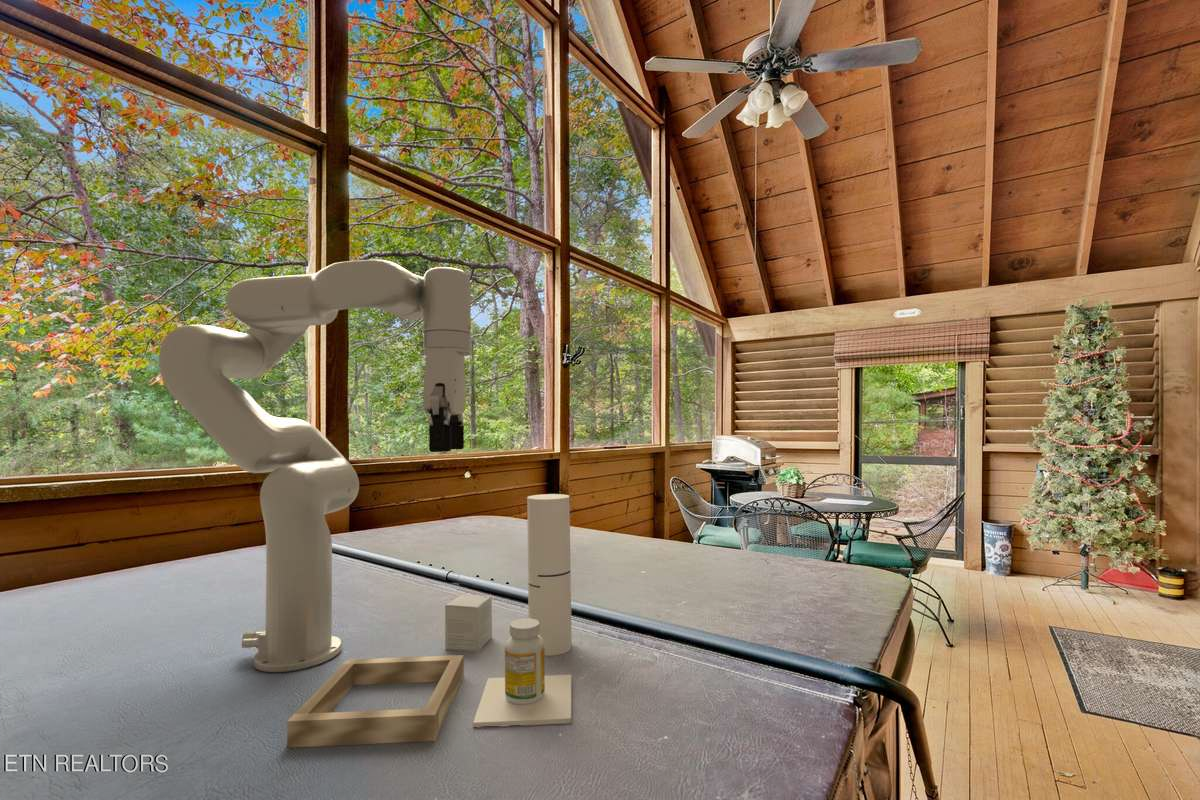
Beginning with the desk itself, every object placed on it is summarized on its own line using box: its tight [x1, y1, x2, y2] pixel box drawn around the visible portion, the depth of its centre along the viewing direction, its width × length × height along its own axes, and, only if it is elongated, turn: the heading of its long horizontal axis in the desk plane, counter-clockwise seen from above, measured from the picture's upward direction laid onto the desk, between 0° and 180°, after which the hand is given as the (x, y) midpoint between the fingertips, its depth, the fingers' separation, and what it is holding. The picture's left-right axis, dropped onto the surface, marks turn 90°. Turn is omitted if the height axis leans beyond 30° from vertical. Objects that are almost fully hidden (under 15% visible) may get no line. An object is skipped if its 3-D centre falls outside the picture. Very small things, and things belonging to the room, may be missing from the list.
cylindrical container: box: [526, 493, 573, 657], centre depth 92 cm, size 7×7×25 cm
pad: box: [472, 674, 572, 728], centre depth 73 cm, size 12×12×1 cm
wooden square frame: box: [286, 654, 465, 749], centre depth 72 cm, size 17×17×3 cm
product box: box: [444, 594, 493, 652], centre depth 94 cm, size 6×6×7 cm
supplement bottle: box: [504, 617, 546, 705], centre depth 74 cm, size 5×5×10 cm
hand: (447, 450), depth 88 cm, fingers open, 9 cm apart
